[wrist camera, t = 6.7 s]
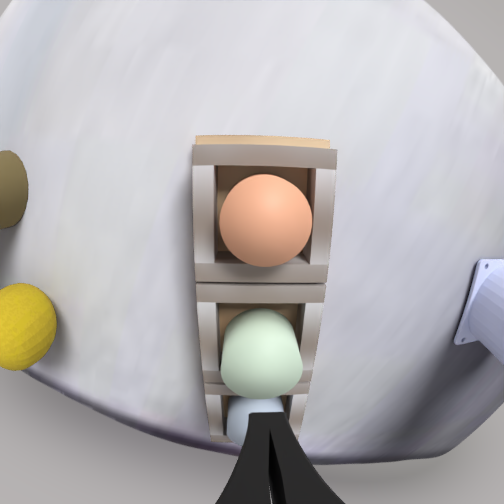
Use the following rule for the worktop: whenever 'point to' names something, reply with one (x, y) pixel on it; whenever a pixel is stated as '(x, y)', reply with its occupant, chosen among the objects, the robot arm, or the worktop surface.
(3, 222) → the pepper mill
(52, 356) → the worktop surface
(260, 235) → the button terracotta
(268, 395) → the button sage
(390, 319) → the worktop surface
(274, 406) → the button slate
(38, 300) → the lemon
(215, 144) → the panel
